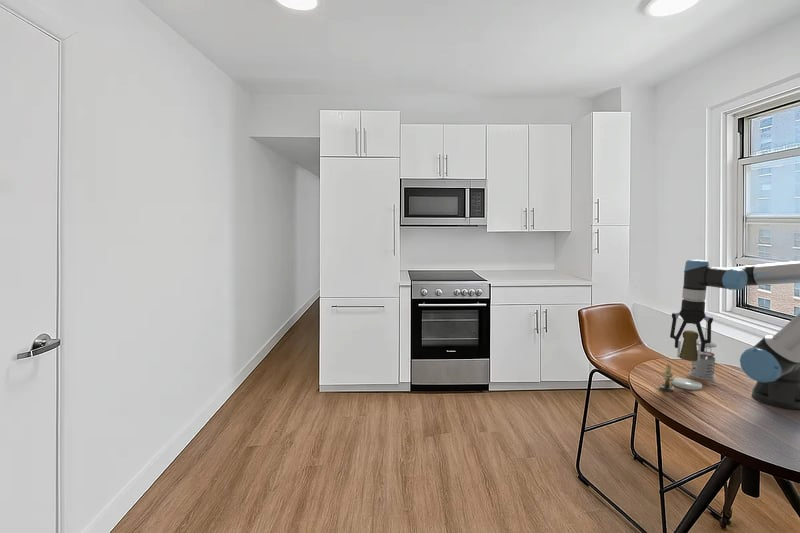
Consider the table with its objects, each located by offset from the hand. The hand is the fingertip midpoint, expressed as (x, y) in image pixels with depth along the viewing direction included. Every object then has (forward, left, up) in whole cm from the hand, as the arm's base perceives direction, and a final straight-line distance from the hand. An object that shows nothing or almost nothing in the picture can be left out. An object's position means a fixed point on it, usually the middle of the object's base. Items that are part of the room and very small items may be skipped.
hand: (688, 357), depth 175 cm
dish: (0, 0, -11) cm, 11 cm away
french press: (-5, -18, -11) cm, 22 cm away
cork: (0, 0, 0) cm, 0 cm away
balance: (+6, +9, -11) cm, 16 cm away
